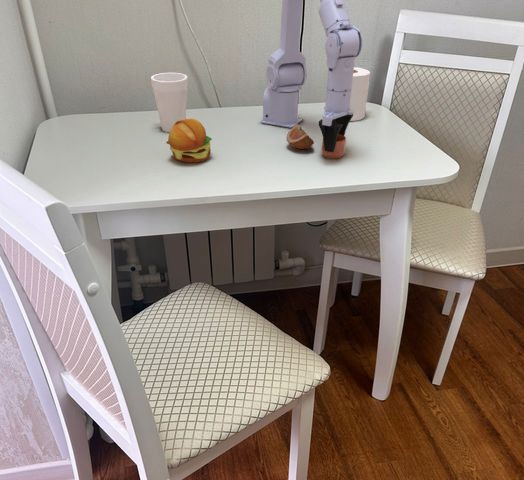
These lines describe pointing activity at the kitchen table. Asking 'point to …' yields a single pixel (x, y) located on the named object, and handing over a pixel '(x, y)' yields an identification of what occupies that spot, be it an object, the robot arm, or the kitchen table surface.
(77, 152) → the kitchen table surface
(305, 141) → the fruit slice
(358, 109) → the toilet paper
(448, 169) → the kitchen table surface
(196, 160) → the cheeseburger
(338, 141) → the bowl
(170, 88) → the foam cup
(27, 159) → the kitchen table surface
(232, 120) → the kitchen table surface
